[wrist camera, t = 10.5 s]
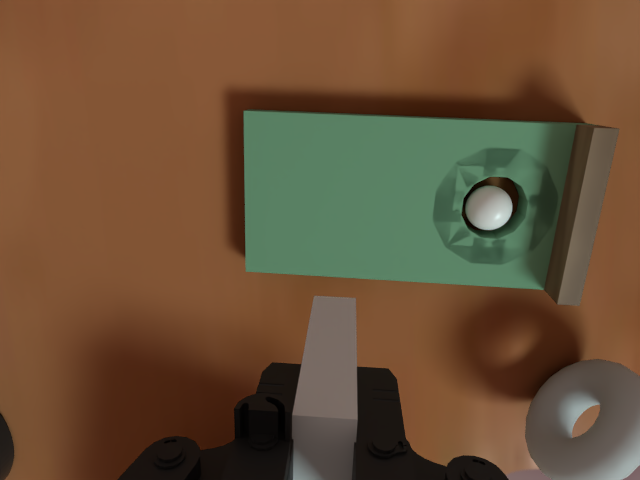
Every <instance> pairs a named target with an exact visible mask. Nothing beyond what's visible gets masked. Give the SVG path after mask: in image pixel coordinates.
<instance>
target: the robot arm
mask: <svg viewBox="0 0 640 480" xmlns="http://www.w3.org/2000/svg"><path fill="white" fill-rule="evenodd" d="M234 419H235V440H234V441H232V442H231V443H228V444H226V445H224V446H220V447H217V448H212V449H206V450H200V448H199V446H198V445H197V444H196V442H195V441H193V440H191V439H189V438H187V437H179V436H174V437H168V438H163V439H161V440H159V441H157V442H154V443H153V444H152V445H150V446H149V447H148V448H146V449H145V450H144V451H143V452H142V454H141V455H140V456H139V457H138V458H137V459H136V460H135V461H134V462H133V463H132V464H131V465H130V467H129V468H128V469H127V470H126V471H125V472H124V473H123V474H122V475H121V476H120V477H119V478H118V480H508V478H507V477H506V475H505V474H504V473H503V472H502V471H501V470H500V469H499V468H498V467H497V466H496V465H494V464H493V463H491V462H489V461H488V460H486V459H483V458H479V457H476V456H464V455H463V456H460V457H456V458H454V459H452V460H451V461H450V462H449V463H448V465H447V467H446V466H443V465H440V464H437V463H434V462H431V461H429V460H426V459H424V458H423V457H421V456H420V455H418V454H417V453H416V452H414V451H413V450H412V448H411V446H410V444H409V442H408V441H407V440H406V437H405V430H404V424H403V417H402V410H401V404H400V397H399V393H398V384H397V379H396V377H395V376H394V375H393V374H392V373H391V371H390V370H389V369H386V368H370V367H357V344H356V298H344V297H326V296H314V300H313V305H312V310H311V316H310V321H309V327H308V332H307V338H306V343H305V348H304V354H303V359H302V364H287V363H271V364H270V365H269V366H268V367H267V368H266V369H265V370H264V371H263V372H262V375H261V379H260V382H259V385H258V388H257V391H256V394H254V395H251V396H248V397H246V398H244V399H243V400H241V401H239V402H238V404H237V405H236V407H235V408H234ZM13 459H14V446H13V441H12V437H11V434H10V431H9V429H8V426H7V424H6V422H5V421H4V419H3V417H2V416H1V414H0V480H5V478H6V477H7V476H8V474H9V472H10V470H11V467H12V464H13Z"/></svg>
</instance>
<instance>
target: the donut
mask: <svg viewBox="0 0 640 480" xmlns="http://www.w3.org/2000/svg"><path fill="white" fill-rule="evenodd" d="M597 404H600V412H599V416H598V418H597V419H596V421H595V423H594V424H593V426H592V427H591V428H590V429H589V430H588V431H587V432H585V433H584V434H582V435H581V436H578V437H574V438H572V429H573V425H574V424H575V422H576V420H577V418H578V417H579V416H580V415H581V414H582V413H583V412H584V411H585V410H586V409H588V408H589V407H591V406H594V405H597ZM525 439H526V442H527V446H528V450H529V453H530V456H531V458H532V459H533V460H534V462H535V463H536V465H537V466H538V467H539V469H540V470H541V471H542V472H543V473H544V474H545V475H546V476H547V477H549V478H551V479H552V480H622V479H624V478H626V477H628V476H629V475H630V474H631V473H632V472H633V471H634V470H635V469H636V468H637V467H638V466H639V465H640V376H638V375H637V374H636V373H634V372H633V371H631V370H630V369H628V368H627V367H625V366H623V365H622V364H620V363H615V362H611V361H606V360H601V359H594V360H585V361H580V362H577V363H574V364H572V365H569V366H567V367H564V368H563V369H561V370H560V371H558V372H557V373H555V374H554V375H553V376H551V377H550V378H549V379H548V380H547V381H546V382H545V383H544V384H543V385H542V387H541V388H540V389H539V390H538V392H537V394H536V395H535V397H534V399H533V400H532V402H531V404H530V407H529V411H528V414H527V417H526V430H525Z"/></svg>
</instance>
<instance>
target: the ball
mask: <svg viewBox="0 0 640 480" xmlns="http://www.w3.org/2000/svg"><path fill="white" fill-rule="evenodd" d="M465 211H466V215H467V218H468V219H469V221H470V222H471V223H472V224H473V225H474V226H476V227H477V228H480V229H483V230H493V229H497V228H499V227H501V226H503V225H504V224H505V223H506V222H507V221H508V220H509V218H510V216H511V213H512V201H511V199H510V197H509V195H508V194H507V193H506V192H505V191H504V190H503V189H501V188H499V187H496V186H483V187H480V188H478V189H476V190H475V191H473V192H472V193H471V194H470V196H469V197H468V199H467V201H466V205H465Z"/></svg>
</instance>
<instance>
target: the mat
mask: <svg viewBox="0 0 640 480" xmlns="http://www.w3.org/2000/svg"><path fill="white" fill-rule="evenodd" d="M576 125H593V124H587V123H567V122H543V121H518V120H494V119H470V118H445V117H421V116H397V115H373V114H348V113H324V112H300V111H275V110H251V109H249V110H245V111H244V181H245V256H246V271H247V272H263V273H280V274H296V275H312V276H329V277H345V278H361V279H378V280H394V281H410V282H427V283H443V284H459V285H476V286H492V287H508V288H525V289H541V290H544V287H545V282H546V277H547V272H548V267H549V262H550V257H551V252H552V246H553V241H554V236H555V231H556V226H557V221H558V216H559V211H560V206H561V201H562V196H563V191H564V186H565V181H566V176H567V171H568V166H569V160H570V155H571V150H572V145H573V140H574V135H575V130H576ZM598 126H599V125H598ZM489 177H508V178H509V179H511V180H512V181H513V182H514V185H515V187H516V189H517V192H518V194H519V199H518V205H517V211H516V212H515V214H514V215H513V216H512V217H511V219H510V220H509V221H508V222H507V224H505V225H503V226H501V227H499V228H497V229H494V230H492V231H484V230H474V229H473V228H471V227H470V226H468V225H466V224H465V222H464V220H463V217H462V215H461V214H462V206H463V199H464V197H465V196H466V194H467V193H468V192H469V190H470V189H471V188H472V187H473V185H474V184H476V183H478V182H480V181H482V180H484V179H486V178H489Z"/></svg>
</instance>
